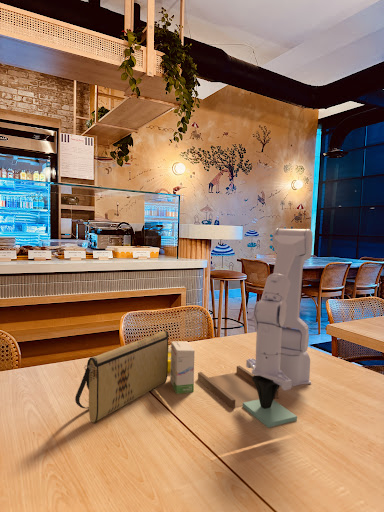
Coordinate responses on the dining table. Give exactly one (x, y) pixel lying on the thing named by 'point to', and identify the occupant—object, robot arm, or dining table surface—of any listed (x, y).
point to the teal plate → (270, 413)
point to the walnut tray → (233, 387)
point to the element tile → (169, 358)
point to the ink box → (182, 367)
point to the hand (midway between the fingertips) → (265, 406)
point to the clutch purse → (124, 374)
